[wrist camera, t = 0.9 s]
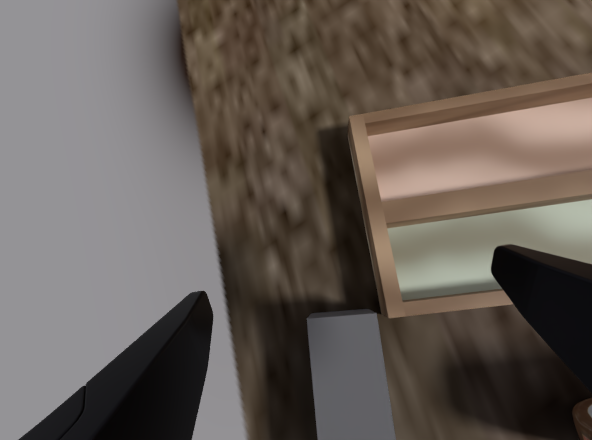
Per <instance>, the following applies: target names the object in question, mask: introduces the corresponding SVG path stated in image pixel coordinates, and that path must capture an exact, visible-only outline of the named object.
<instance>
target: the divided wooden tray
mask: <svg viewBox="0 0 592 440" xmlns="http://www.w3.org/2000/svg"><path fill="white" fill-rule="evenodd" d="M347 135H348V141H349V146H350V151H351V156H352V162H353V167H354V172H355V177H356V183H357V188H358V193H359V198H360V204H361V209H362V214H363V219H364V225H365V230H366V235H367V241H368V246H369V251H370V256H371V262H372V267H373V272H374V277H375V283H376V288H377V293H378V298H379V304H380V309H381V314H382V315H383V316H385V317H387V318H395V317H404V316H413V315H422V314H430V313H439V312H448V311H457V310H466V309H474V308H483V307H492V306H501V305H510V304H513V303H512V301H511V300H510V299H509V297H508V296H507V295H506V293H505V292H504V291H503V289H502V288H501V287H500V285H499V284H498V283H497V281H496V280H495V278H494V277H493V275H492V273H491V264H492V258H493V253H494V249H495V248H496V247H497V246H500V245H507V244H513V245H517V246H521V247H525V248H529V249H533V250H537V251H541V252H545V253H549V254H553V255H557V256H561V257H565V258H569V259H573V260H577V261H581V262H585V263H589V264H592V73H587V74H581V75H576V76H570V77H565V78H559V79H554V80H548V81H542V82H537V83H531V84H526V85H520V86H515V87H509V88H504V89H498V90H493V91H487V92H482V93H476V94H470V95H465V96H459V97H454V98H448V99H443V100H437V101H432V102H426V103H421V104H415V105H410V106H404V107H398V108H393V109H387V110H382V111H376V112H371V113H365V114H360V115H354V116H349V124H348V134H347Z"/></svg>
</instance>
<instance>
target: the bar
mask: <svg viewBox="0 0 592 440" xmlns="http://www.w3.org/2000/svg"><path fill="white" fill-rule="evenodd" d="M307 328H308V339H309V350H310V361H311V372H312V383H313V394H314V405H315V415H316V426H317V437H318V440H396V438H395V431H394V424H393V418H392V411H391V405H390V398H389V392H388V385H387V378H386V372H385V365H384V359H383V352H382V346H381V339H380V333H379V326H378V319H377V313H375V312H373V311H371V310H370V309H358V310H346V311H334V312H322V313H311V314H310V315H309V317H308V318H307Z"/></svg>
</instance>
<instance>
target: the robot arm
mask: <svg viewBox="0 0 592 440" xmlns="http://www.w3.org/2000/svg"><path fill="white" fill-rule="evenodd" d="M491 273H492V275H493V277H494V278H495V280H496V281H497V283H498V284H499V285H500V287H501V288H502V289H503V291H504V292H505V293H506V295H507V296H508V297H509V299H510V300H511V301H512V303H513V304H514V305H515V307H516V308H517V309H518V311H519V312H520V313H521V314H522V316H523V317H524V318H525V319H526V321H527V322H528V323H529V324H530V325H531V326H532V327H533V329H534V330H535V331H536V332H537V333H538V334H539V335H540V336H541V337H542V339H543V340H544V341H545V342H546V343H547V344H548V345H549V346H550V347H551V349H552V350H553V351H554V352H555V353H556V354H557V355H558V356H559V357H560V359H561V360H562V361H563V362H564V363H565V364H566V365H567V366H568V367H569V369H570V370H571V371H572V372H573V373H574V374H575V375H576V376H577V377H578V379H579V380H580V381H581V382H582V383H583V384H584V385H585V386H586V387H587V389H588V390H589V391H590V392H591V393H592V264H589V263H585V262H581V261H577V260H573V259H569V258H565V257H561V256H557V255H553V254H549V253H545V252H541V251H537V250H533V249H529V248H525V247H521V246H517V245H513V244H507V245H500V246H497V247H496V248H495V249H494V253H493V258H492V264H491ZM212 325H213V311H212V308H211V305H210V302H209V299H208V296H207V294H206V292H205V291H198V292H192V293H190V294H189V295H188V296H186V297H185V298H184V299H183V300H182V301H181V302H180V303H178V304H177V305H176V306H175V307H174V308H173V309H172V310H170V311H169V312H168V313H167V314H166V315H165V316H163V317H162V318H161V319H160V320H159V321H158V322H157V323H155V324H154V325H153V326H152V327H151V328H150V329H148V330H147V331H146V332H145V333H144V334H143V335H141V336H140V337H139V338H138V339H137V340H136V341H134V342H133V343H132V344H131V345H130V346H129V347H128V348H126V349H125V350H124V351H123V352H122V353H121V354H119V355H118V356H117V357H116V358H115V359H114V360H113V361H111V362H110V363H109V364H108V365H107V366H106V367H105V368H103V369H102V370H101V371H100V372H99V373H97V374H96V375H95V376H94V377H93V378H92V379H91V380H90V381H88V382H87V384H86V386H83V387H81V388H80V389H79V390H78V391H77V392H75V393H74V394H73V395H72V396H71V397H70V398H68V399H67V400H66V401H65V402H64V403H63V404H61V405H60V406H59V407H58V408H57V409H55V410H54V411H53V412H52V413H51V414H50V415H48V416H47V417H46V418H45V419H44V420H42V421H41V422H40V423H39V424H38V425H36V426H35V427H34V428H33V429H31V430H30V431H29V432H28V433H26V434H25V435H24V436H23V437H21V438H20V439H19V440H192V435H193V431H194V426H195V421H196V417H197V413H198V409H199V404H200V399H201V395H202V391H203V386H204V382H205V378H206V372H207V367H208V360H209V352H210V343H211V333H212Z"/></svg>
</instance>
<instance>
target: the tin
mask: <svg viewBox="0 0 592 440" xmlns="http://www.w3.org/2000/svg"><path fill="white" fill-rule="evenodd" d="M572 414H573V419H574V424H575V427H576V430H577V433H578V435H579V438H580V440H592V398H590V399H586V400H583V401H581V402H579V403H577V404H576V405H575V406H574V407H573V411H572Z"/></svg>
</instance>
